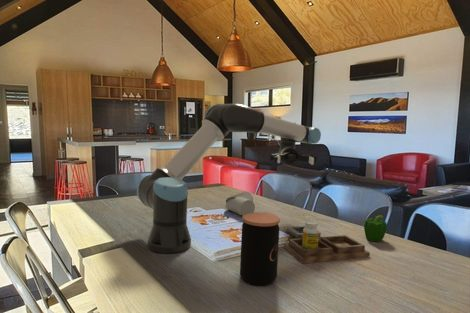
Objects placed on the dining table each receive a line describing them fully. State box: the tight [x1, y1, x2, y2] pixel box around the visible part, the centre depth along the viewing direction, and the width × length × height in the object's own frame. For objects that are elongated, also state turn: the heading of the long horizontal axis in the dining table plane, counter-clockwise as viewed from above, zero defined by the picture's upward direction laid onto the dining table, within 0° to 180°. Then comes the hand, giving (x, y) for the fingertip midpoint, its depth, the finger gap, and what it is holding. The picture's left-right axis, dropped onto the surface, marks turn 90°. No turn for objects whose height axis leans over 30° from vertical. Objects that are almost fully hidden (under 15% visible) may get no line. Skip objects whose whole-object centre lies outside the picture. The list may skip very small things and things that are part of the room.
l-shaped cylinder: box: [225, 191, 256, 217], centre depth 164 cm, size 18×11×20 cm
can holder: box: [285, 225, 322, 239], centre depth 133 cm, size 10×10×2 cm
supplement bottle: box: [302, 220, 320, 250], centre depth 113 cm, size 5×5×10 cm
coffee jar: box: [239, 211, 281, 287], centre depth 93 cm, size 11×11×18 cm
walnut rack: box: [283, 234, 371, 264], centre depth 115 cm, size 26×14×4 cm, turn 108°
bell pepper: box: [363, 215, 388, 243], centre depth 130 cm, size 8×8×10 cm
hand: (295, 160), depth 133 cm, fingers open, 13 cm apart
